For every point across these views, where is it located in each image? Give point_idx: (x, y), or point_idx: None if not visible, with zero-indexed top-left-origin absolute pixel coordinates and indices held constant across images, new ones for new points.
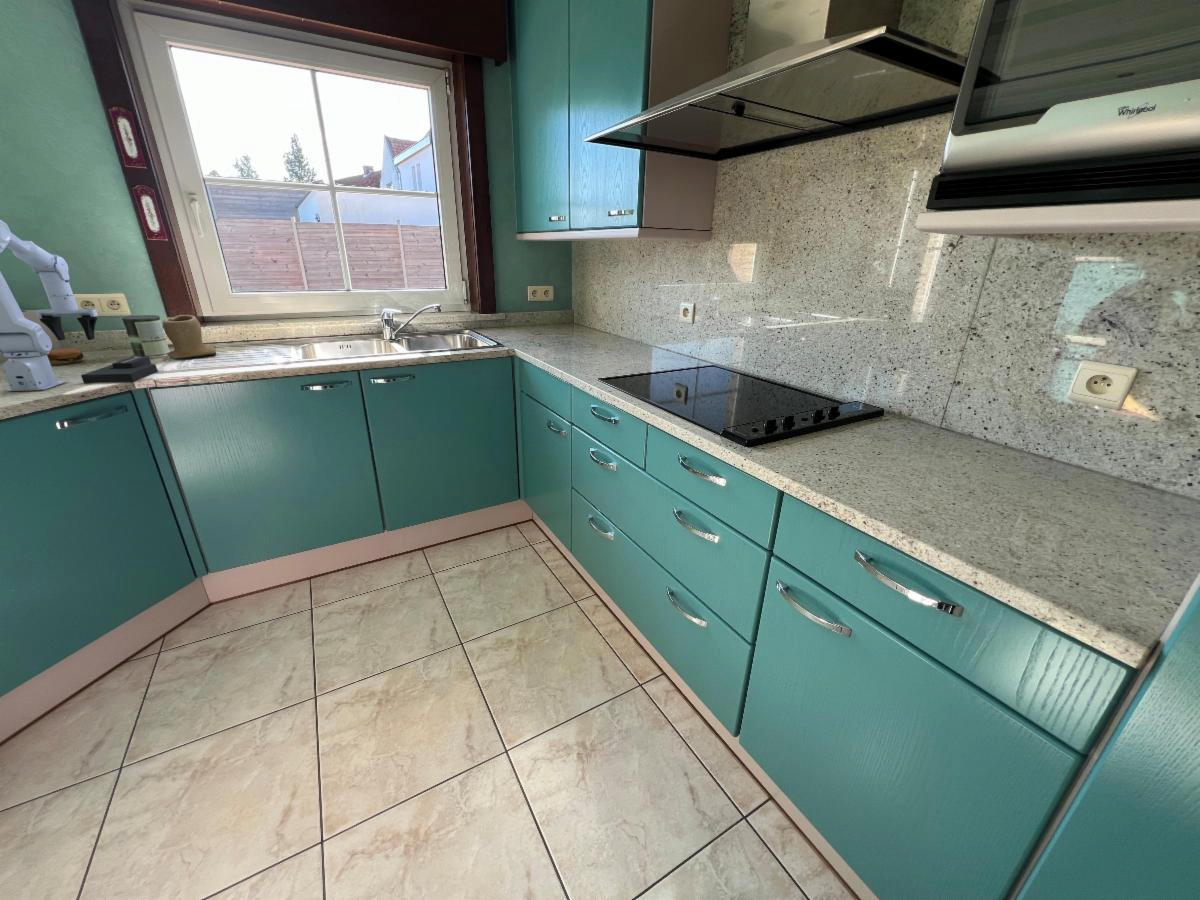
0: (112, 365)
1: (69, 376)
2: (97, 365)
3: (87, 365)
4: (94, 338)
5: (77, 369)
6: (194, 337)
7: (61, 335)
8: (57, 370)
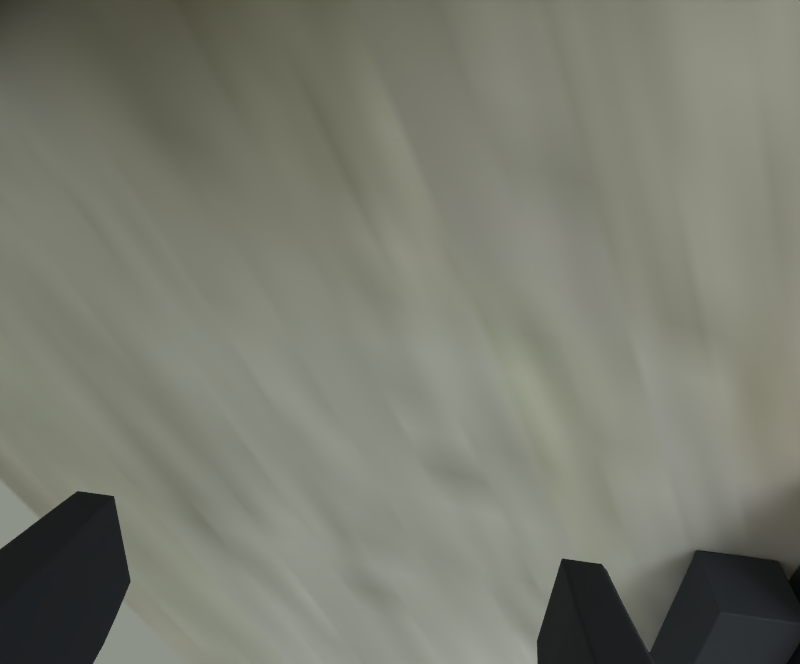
0: (741, 634)
1: (415, 575)
2: (414, 130)
3: (297, 99)
4: (608, 578)
5: (321, 321)
6: None
7: (78, 616)
8: (167, 323)
